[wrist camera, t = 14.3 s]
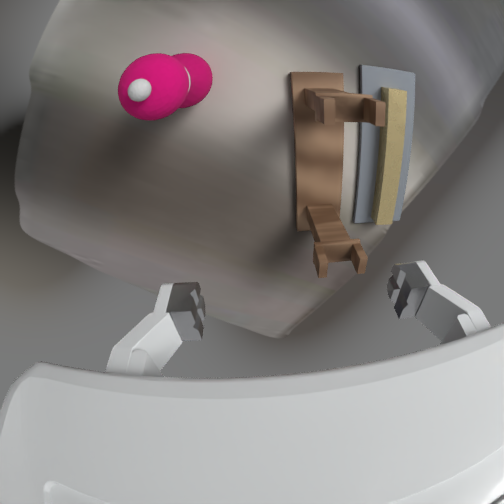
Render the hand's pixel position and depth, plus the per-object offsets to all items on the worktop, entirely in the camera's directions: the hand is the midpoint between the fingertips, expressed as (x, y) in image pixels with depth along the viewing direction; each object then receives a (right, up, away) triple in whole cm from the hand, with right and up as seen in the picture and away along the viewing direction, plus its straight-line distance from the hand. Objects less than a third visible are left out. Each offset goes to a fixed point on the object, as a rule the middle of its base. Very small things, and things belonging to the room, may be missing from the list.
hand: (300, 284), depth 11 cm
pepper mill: (-10, +25, +20) cm, 34 cm away
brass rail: (+19, +16, +26) cm, 36 cm away
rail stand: (+8, +16, +27) cm, 32 cm away
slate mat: (+19, +17, +26) cm, 37 cm away
